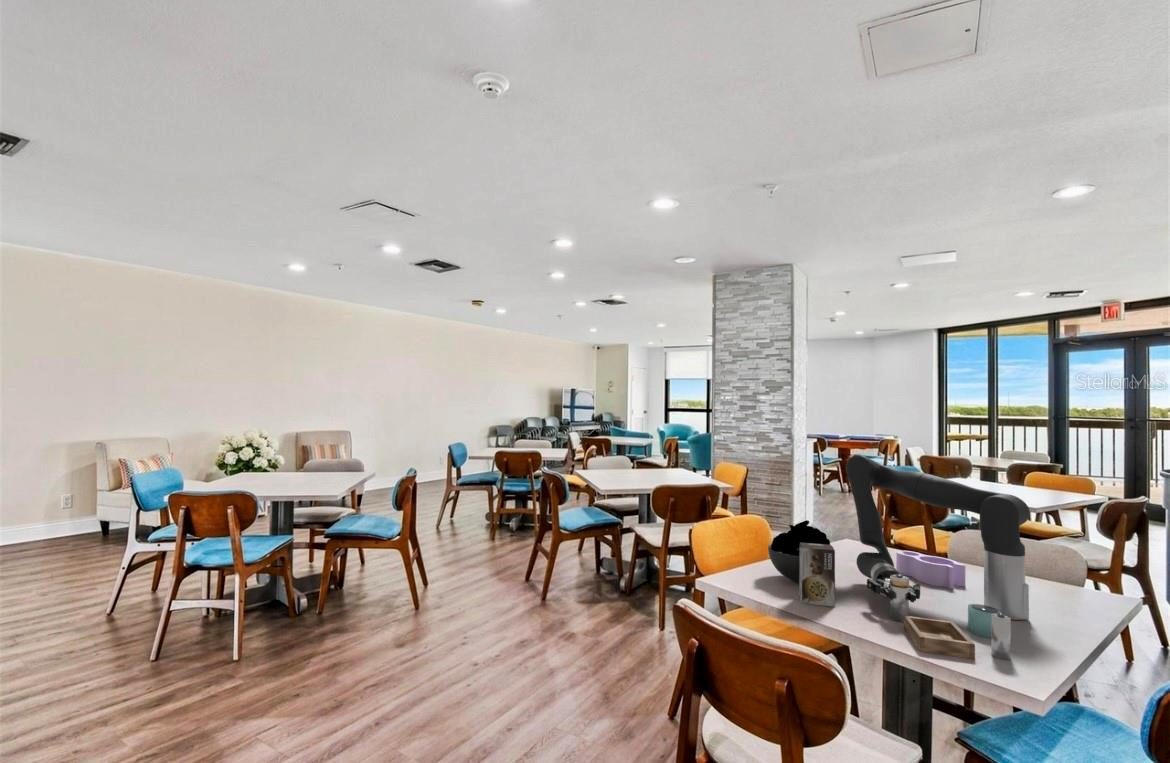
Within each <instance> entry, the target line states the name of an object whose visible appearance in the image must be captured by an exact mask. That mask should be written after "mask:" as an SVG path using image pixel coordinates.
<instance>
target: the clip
mask: <svg viewBox="0 0 1170 763" xmlns="http://www.w3.org/2000/svg"><path fill="white" fill-rule="evenodd" d="M895 556H896V557H895V559H896V562H895V563H896V564H895V565H896V568H895V569H896V570H897V571H898V572H899V573H900V574H901V575H903V576H907V575H908V577H911V576H912V578H914V579H915V580H916V579H917V581H919V582H921V583H924V584H927V585H930V586H931V585H932V586H936V585H937V587H943V586H944V587H945V588H948V589H951V590H953V589H955V588H954V586H957V587H958V586H959V587H966V564H964V563H963V564H961V563H959V562H957V561H955V560H953V559H950V558H945V557H942V556H941V557H940V556H935V555H927V554H923V553H920V552H916V551H911V550H903V551H896V555H895Z"/></svg>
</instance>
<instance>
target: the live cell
mask: <svg viewBox="0 0 1170 763" xmlns="http://www.w3.org/2000/svg"><path fill="white" fill-rule="evenodd" d="M909 585H910V578H909V576H908V577H907V576H906V575H903V574H896V575H890V589H891V590H892V591H893V600H890V599H889V617H890V619H891V620H894V621H897V622H900V623H901V622H902V623H904V616H910V601H909Z"/></svg>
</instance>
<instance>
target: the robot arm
mask: <svg viewBox="0 0 1170 763" xmlns="http://www.w3.org/2000/svg"><path fill="white" fill-rule="evenodd" d="M845 471H846V475H847V479H848V482H849V485H850V489H851V492H852V497H853V501H854V505H855V511H856V516H857V525H858V531H859V540H860V543H861V544H863V545H865V546H867V547H868V546H869V547H872V548H874V549H876V551H877V552H868V551H864V552H861V553H859V554H858V555H857V558H856V567H857V568H858V571H859V572H860V573H861V574H862V575H863V576H865V577H867V579H866V588H867V589H868V590H870V591H871V592H873V593H874V594H876V595H881V594H883V596H884V597H886V598H888V600H889V601H890V600H893V591H892V590H891V589H890V575H896V574H900V573H899V572H898V571H897V570H896V568H895V565H894V561H893V558H892V556H891V554H890V551H889V550H888V547H887V545H886V542H885V538H884V530H883V524H882V523H883V522H882V520H881V515H880V513H879V511H878V510H879V509H878V507H877V505H876V502H875V500H874V497H873V492H872V488H871V487H875V488H879V489H884V490H887V491H888V490H889V491H891V492H894V493H896V494H899V495H902V496H903V497H906V498H908V499H911V500H914V501H917V502H921V503H923V504H926V505H930V506H934V507H937V508H944V509H949V510H950V509H951V510H957V511H965V512H966V511H967V512H970V513H975V514H977V515H979V518H980V519H979V520H980V537H981V541H982V543H983V564H984V565H983V605H986V606H990V607H994V608H996V609H999V610H1000V611H1001V612H1002V614H1004V615H1005V616H1008V617H1010V618H1011V620H1015V621H1021V620H1030V602H1029V601H1030V598H1029V597H1030V594H1029V593H1030V592H1029V591H1030V589H1029V588H1030V587H1029V584H1028V583H1027V582H1026V546H1025V545H1024V544H1023V543H1022V541H1021V537H1020V536H1021V534H1020V526H1022V525H1024V524H1025V523H1026V522H1028V520H1029V519H1030V516H1031V510H1030V508H1029V506H1028V504H1027V503H1026V502H1025V500H1022V499H1021V498H1020V497H1017V496H1015V495H1013V494H1008V493H1003V492H1002V493H1001V492H996V491H995V492H994V491H990V490H985V489H979V488H976V487H971V486H969V485H966V484H963V483H960V482H957V481H954V480H951V479H948V478H944V477H940V476H936V475H934V474H929V473H925V472H921V471H914V470H899V469H895V468H892V467H890V466H886V465H883V464H882V463H879V462H877V461H875V460H873V459H871V458H869V457H867V456H865V455H862V454H855V455H852V456H850V458H848V460H847V461H846V463H845ZM920 597H921V584H919V583H915V584H913V585H910V584H909V603H915V602H916V601H917V600H920Z"/></svg>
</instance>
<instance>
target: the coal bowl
mask: <svg viewBox="0 0 1170 763" xmlns="http://www.w3.org/2000/svg"><path fill="white" fill-rule="evenodd" d="M810 523H811V522H810V521H809V520H808V519H806V520H802V522H798V523H795V524H789V525H788V526H789V528H790V530H788V531H787V532H781V533H779V534H777V535H776V536H775V537H773V539H772V541H771V544H769V545H768V546H767V551H768V556H769V559H770V561H771V563H772V565H773V566H774V568H775V569H776V570H777V571H778V572H779V573H780V575H782V576H783V577H785V578H786V579H788V580H790V581H793V582H796V583H799V575H800V542H801V543H814V544H825V545H831V540H830V539H829V538H828V536H827V533H824V532H823V531H821V530H820V529H819V528H817V527H814V526H810V525H809V524H810Z"/></svg>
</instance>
